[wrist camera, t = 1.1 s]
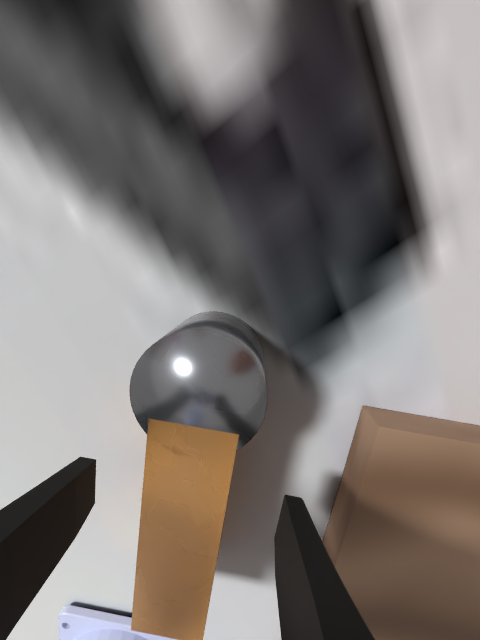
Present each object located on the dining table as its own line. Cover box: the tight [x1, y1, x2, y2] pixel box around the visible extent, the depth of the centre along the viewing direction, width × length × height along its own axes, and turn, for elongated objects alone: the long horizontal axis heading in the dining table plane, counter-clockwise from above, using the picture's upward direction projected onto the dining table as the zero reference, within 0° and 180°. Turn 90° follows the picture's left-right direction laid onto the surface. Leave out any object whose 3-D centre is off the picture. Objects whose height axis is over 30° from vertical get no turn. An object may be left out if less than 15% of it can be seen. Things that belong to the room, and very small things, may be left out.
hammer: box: [130, 312, 267, 640], centre depth 10 cm, size 13×4×4 cm, turn 171°
